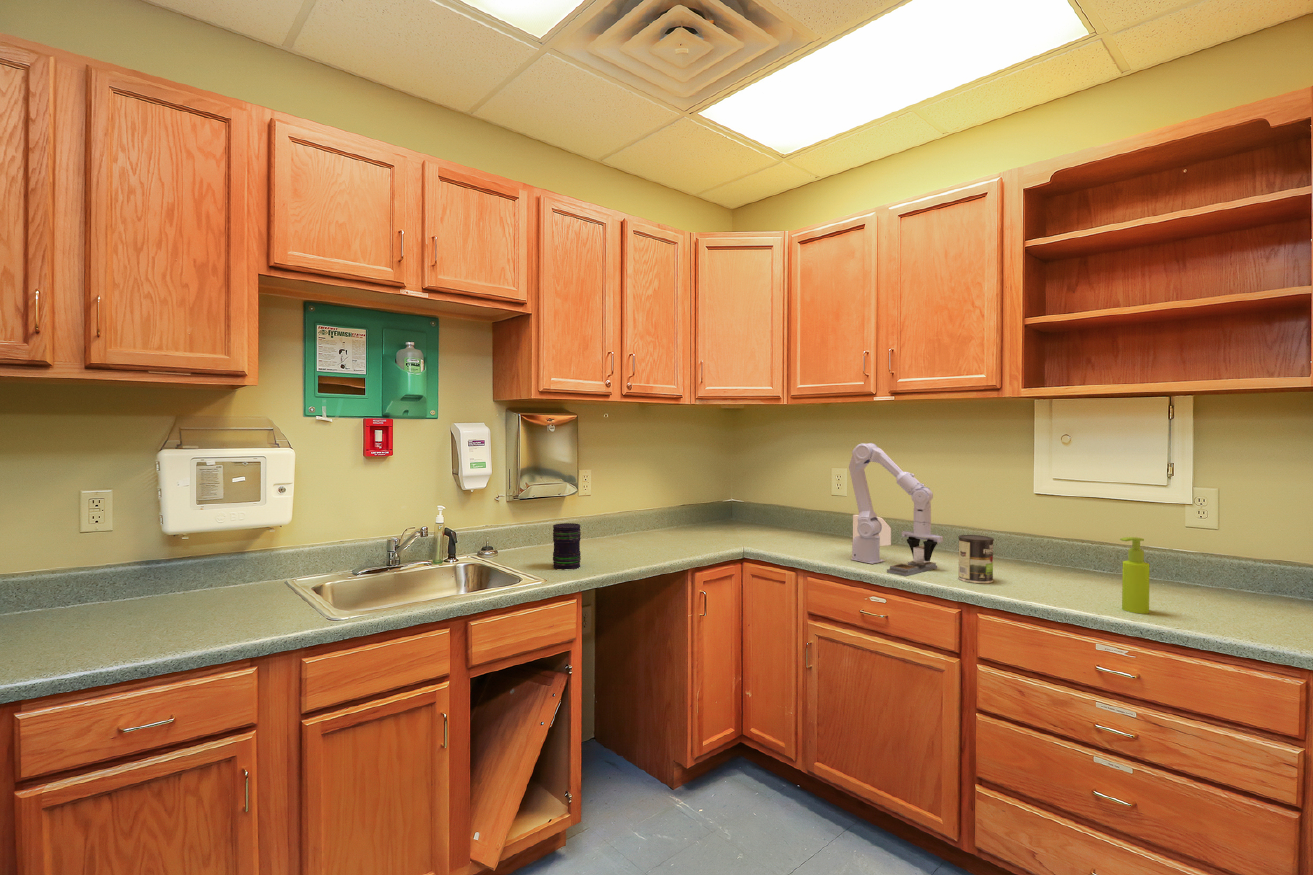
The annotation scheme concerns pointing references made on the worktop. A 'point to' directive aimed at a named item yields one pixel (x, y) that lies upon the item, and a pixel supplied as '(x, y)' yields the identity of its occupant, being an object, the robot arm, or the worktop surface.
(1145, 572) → the soap dispenser
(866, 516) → the robot arm
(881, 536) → the corner bracket
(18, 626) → the worktop surface
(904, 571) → the rail
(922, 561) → the block
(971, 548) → the coffee can
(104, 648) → the worktop surface
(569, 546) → the storage jar
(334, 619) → the worktop surface
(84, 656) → the worktop surface
